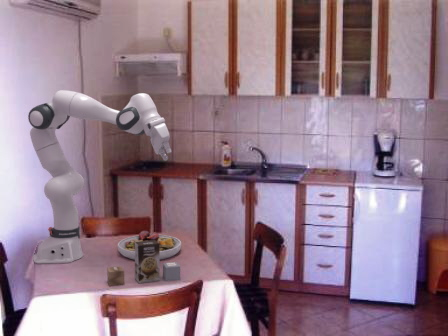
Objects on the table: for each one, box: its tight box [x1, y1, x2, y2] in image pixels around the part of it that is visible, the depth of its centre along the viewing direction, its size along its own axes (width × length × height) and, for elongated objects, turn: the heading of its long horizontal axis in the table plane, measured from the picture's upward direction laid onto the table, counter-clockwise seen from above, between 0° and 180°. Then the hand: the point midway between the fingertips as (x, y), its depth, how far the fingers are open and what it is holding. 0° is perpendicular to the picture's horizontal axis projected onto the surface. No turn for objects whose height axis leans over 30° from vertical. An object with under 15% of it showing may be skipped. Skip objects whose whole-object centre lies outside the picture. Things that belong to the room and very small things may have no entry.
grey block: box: [162, 261, 181, 282], centre depth 243 cm, size 6×6×6 cm
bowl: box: [117, 230, 182, 261], centre depth 278 cm, size 30×30×8 cm
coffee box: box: [134, 240, 161, 284], centre depth 241 cm, size 9×6×16 cm
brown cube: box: [106, 265, 125, 287], centre depth 237 cm, size 6×6×6 cm
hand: (167, 156), depth 244 cm, fingers open, 8 cm apart
